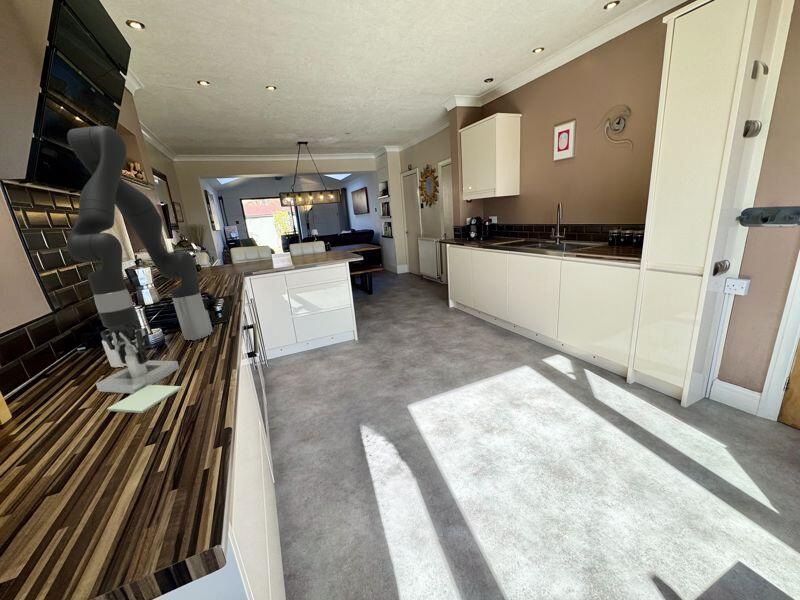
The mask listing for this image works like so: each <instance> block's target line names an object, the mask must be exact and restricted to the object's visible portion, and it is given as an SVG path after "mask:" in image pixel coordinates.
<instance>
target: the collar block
mask: <svg viewBox="0 0 800 600" xmlns="http://www.w3.org/2000/svg"><path fill="white" fill-rule="evenodd" d="M145 366H146V369H147V372H148V373H147V374H145V375H143V376H141V377H139V378H137V379H132V378H131V375H130V372H129V369H128V367H126V368H124V369H121V370H120V371H117V372H115V373H113V374H111V375H109V376H107V377H105V378H104V379H102V380H100V381H98V382H96V383H95V385H96V389H97V390H98V392H104V393H117V394H118V393H119V394H122V393H123V394H134V393H136V392H137V391H139V390H141V389H143V388H144V387H146V386H148V385H155V384H156V383H158V382H159V381H162V380H163V379H165V378H166V377H168V376H170V375H172V374H173V373H174V372H175V371H177V369H178V370H179V369H180V366H179V363H178V361H177V360H149V359H148V361H147V362H145Z"/></svg>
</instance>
